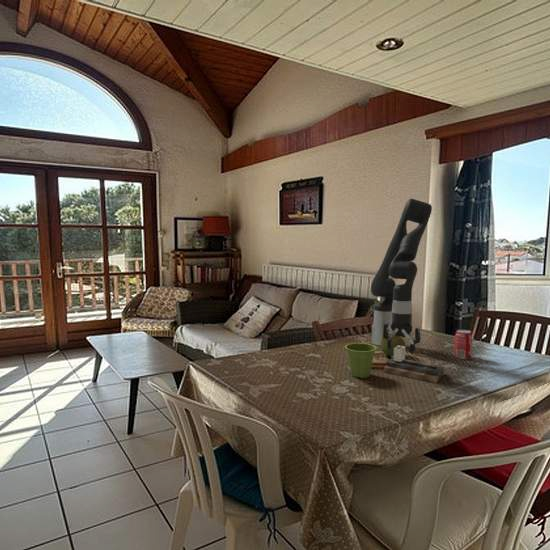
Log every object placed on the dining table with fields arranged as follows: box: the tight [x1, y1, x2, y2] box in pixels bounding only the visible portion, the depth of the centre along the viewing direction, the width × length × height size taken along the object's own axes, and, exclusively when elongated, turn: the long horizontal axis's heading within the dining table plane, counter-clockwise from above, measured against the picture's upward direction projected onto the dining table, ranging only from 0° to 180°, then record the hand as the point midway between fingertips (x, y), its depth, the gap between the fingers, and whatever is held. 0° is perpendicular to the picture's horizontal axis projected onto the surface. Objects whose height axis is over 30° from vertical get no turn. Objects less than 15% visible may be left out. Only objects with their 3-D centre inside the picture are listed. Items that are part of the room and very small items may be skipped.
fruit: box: [379, 334, 407, 357], centre depth 176 cm, size 12×12×10 cm
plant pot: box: [344, 342, 377, 379], centre depth 153 cm, size 12×12×11 cm
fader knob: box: [393, 345, 406, 363], centre depth 159 cm, size 3×5×7 cm, turn 143°
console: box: [383, 357, 446, 384], centre depth 155 cm, size 20×12×4 cm, turn 53°
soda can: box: [453, 329, 473, 360], centre depth 175 cm, size 7×7×12 cm
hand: (401, 351), depth 158 cm, fingers open, 8 cm apart
